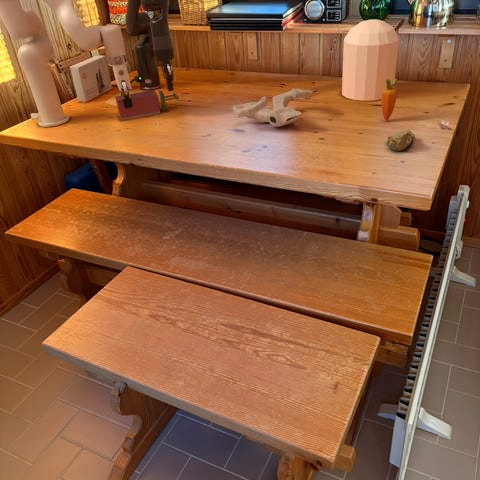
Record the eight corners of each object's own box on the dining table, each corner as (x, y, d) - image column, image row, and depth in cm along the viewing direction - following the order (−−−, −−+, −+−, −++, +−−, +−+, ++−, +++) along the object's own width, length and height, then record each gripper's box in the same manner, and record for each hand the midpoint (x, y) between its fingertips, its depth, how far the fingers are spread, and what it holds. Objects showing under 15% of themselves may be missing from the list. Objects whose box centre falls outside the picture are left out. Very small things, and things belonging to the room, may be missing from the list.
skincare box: (87, 102, 214) (77, 67, 204) (78, 102, 215) (68, 66, 206) (113, 88, 229) (105, 54, 220) (104, 88, 231) (96, 54, 222)
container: (362, 104, 181) (368, 27, 165) (331, 91, 197) (333, 20, 182) (404, 93, 188) (413, 18, 172) (371, 81, 204) (376, 12, 188)
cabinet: (157, 109, 198) (153, 89, 193) (160, 113, 193) (156, 93, 188) (119, 116, 194) (115, 96, 190) (121, 120, 189) (116, 100, 185)
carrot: (394, 118, 167) (398, 76, 158) (393, 123, 163) (397, 80, 154) (379, 117, 168) (383, 75, 160) (378, 122, 165) (382, 80, 156)
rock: (408, 140, 153) (379, 139, 152) (414, 122, 149) (384, 120, 148) (421, 154, 144) (391, 153, 143) (428, 135, 140) (396, 133, 139)
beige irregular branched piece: (230, 133, 167) (227, 101, 161) (244, 110, 188) (241, 81, 182) (308, 133, 161) (308, 99, 155) (313, 109, 182) (314, 78, 176)
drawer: (177, 103, 199) (175, 88, 195) (180, 106, 195) (178, 91, 191) (129, 112, 194) (125, 97, 191) (130, 116, 190) (127, 100, 187)
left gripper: (130, 63, 174) (139, 109, 184) (124, 53, 188) (133, 97, 198) (110, 66, 172) (121, 113, 182) (105, 56, 186) (116, 101, 196)
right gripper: (176, 48, 178) (183, 93, 188) (168, 42, 189) (176, 85, 199) (157, 51, 177) (165, 96, 186) (150, 45, 187) (159, 88, 197)
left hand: (127, 104), depth 190 cm, fingers closed on cabinet, 6 cm apart
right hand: (170, 90), depth 193 cm, fingers closed
